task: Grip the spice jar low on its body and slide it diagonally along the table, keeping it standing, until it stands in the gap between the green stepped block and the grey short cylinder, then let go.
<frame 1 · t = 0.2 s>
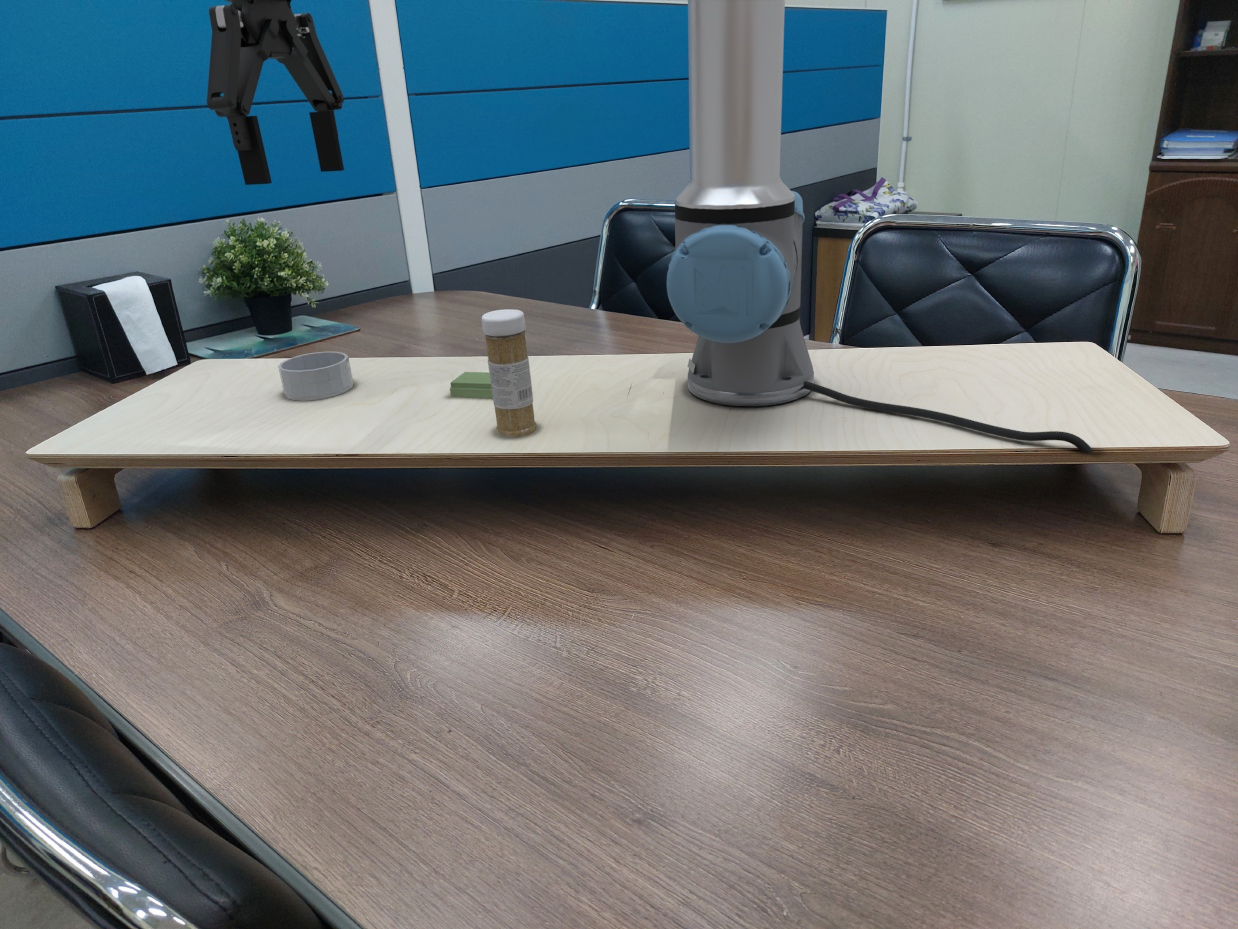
hand: (298, 177, 93), 28 cm above the table, tool pointing down, fingers open, 13 cm apart
grey short cylinder: (319, 389, 112), on the table
green stepped block: (487, 391, 107), on the table
spice jar: (516, 432, 94), on the table
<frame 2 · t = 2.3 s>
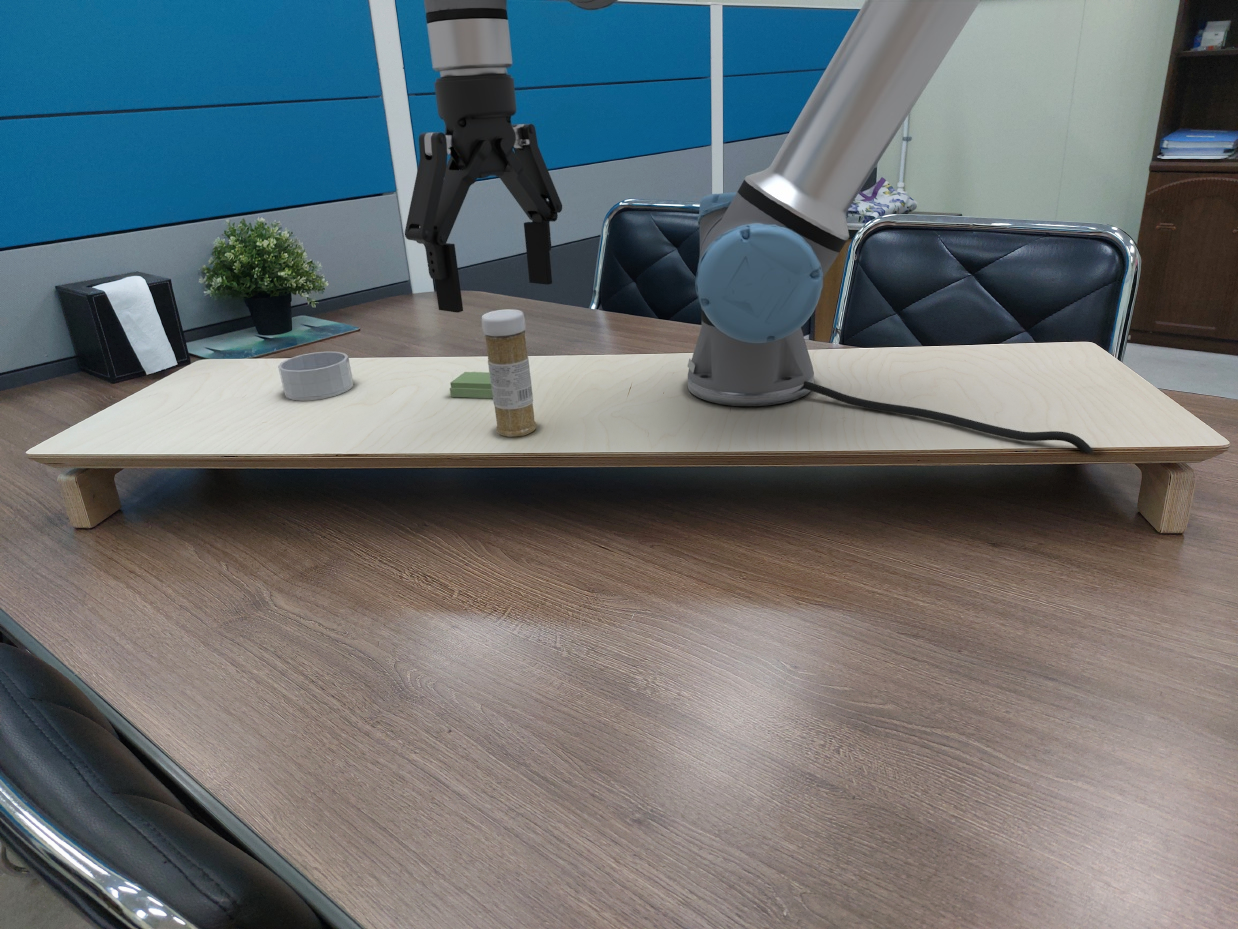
hand: (498, 296, 88), 15 cm above the table, tool pointing down, fingers open, 13 cm apart
nothing on the table moved.
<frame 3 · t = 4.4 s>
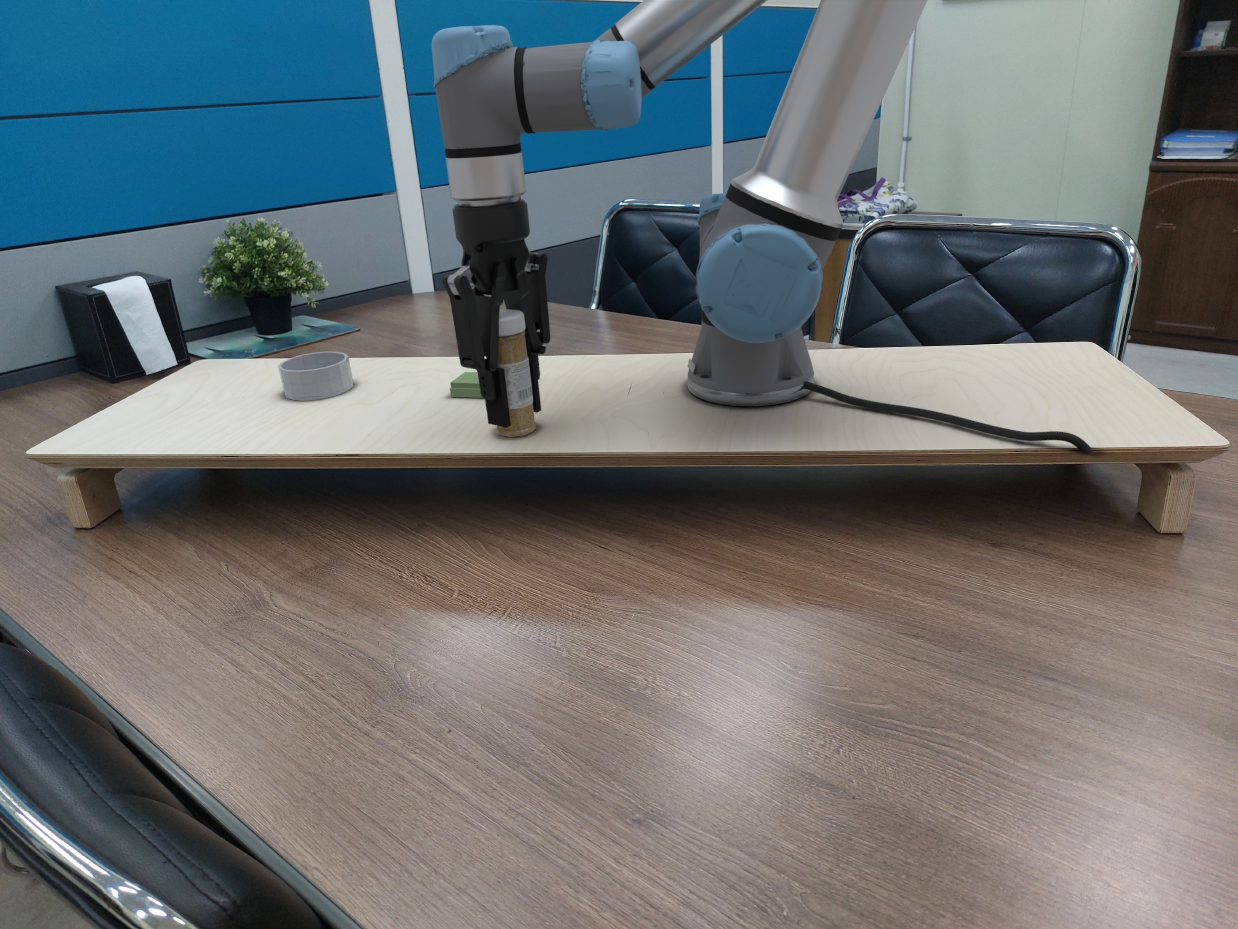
hand: (515, 416, 93), 2 cm above the table, tool pointing down, fingers closed on spice jar, 4 cm apart
spice jar: (516, 432, 94), on the table, touching gripper
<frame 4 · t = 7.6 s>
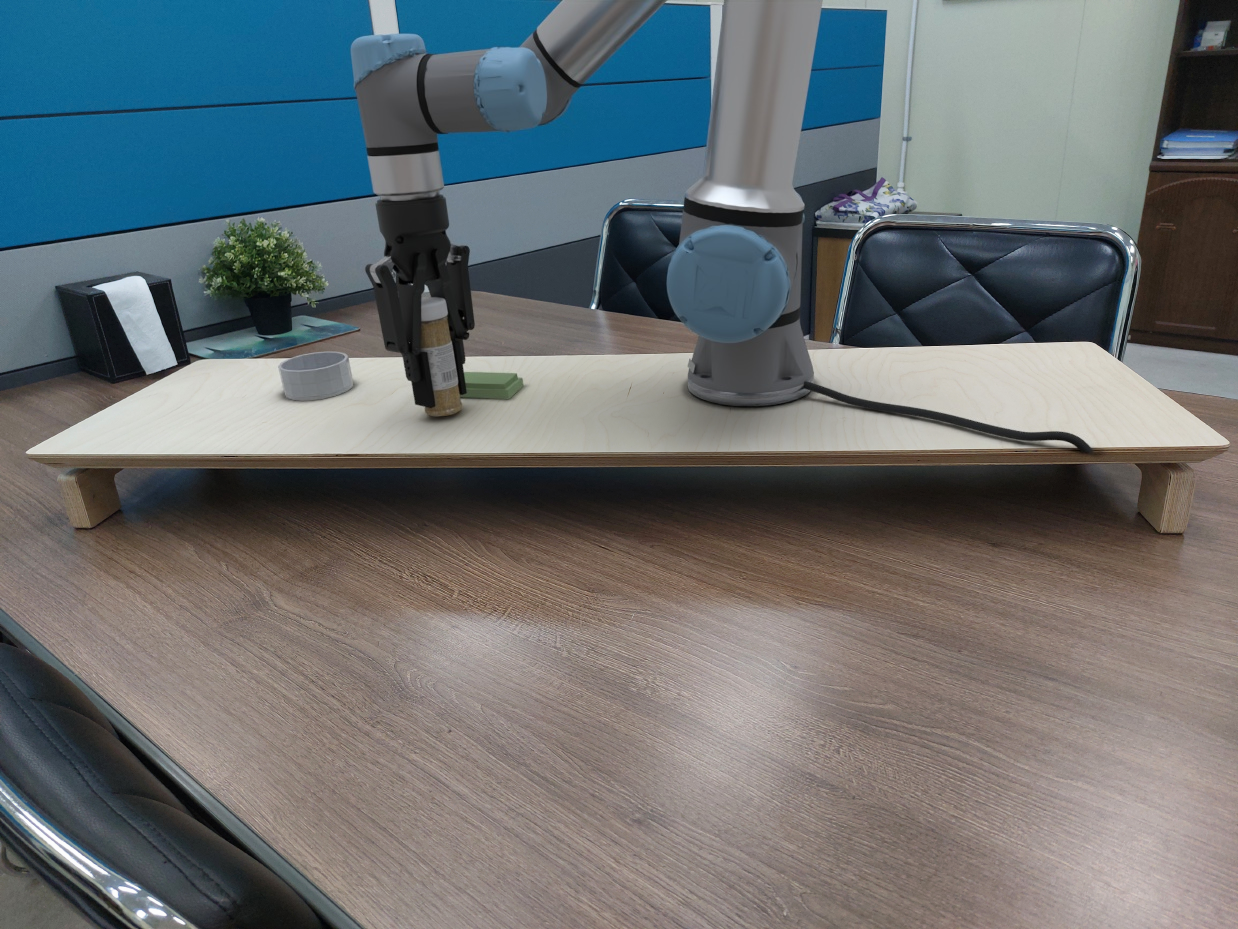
hand: (441, 398, 100), 2 cm above the table, tool pointing down, fingers closed on spice jar, 4 cm apart
spice jar: (444, 412, 100), on the table, touching gripper
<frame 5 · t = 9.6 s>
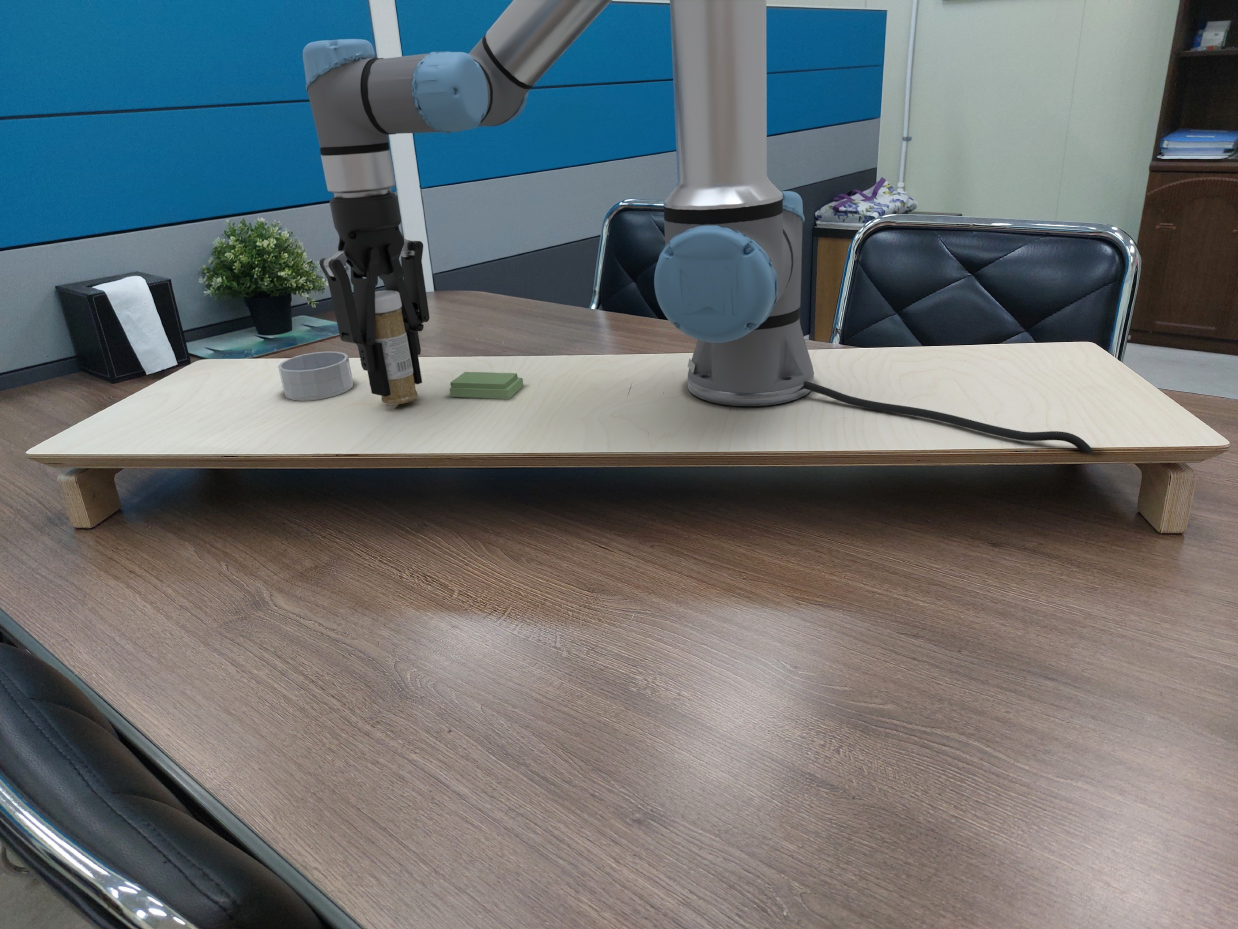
hand: (397, 387, 104), 2 cm above the table, tool pointing down, fingers closed on spice jar, 4 cm apart
spice jar: (400, 401, 105), on the table, touching gripper
when the fingers open (2 cm above the table, at t = 11.2 s): spice jar stays where it is, on the table.
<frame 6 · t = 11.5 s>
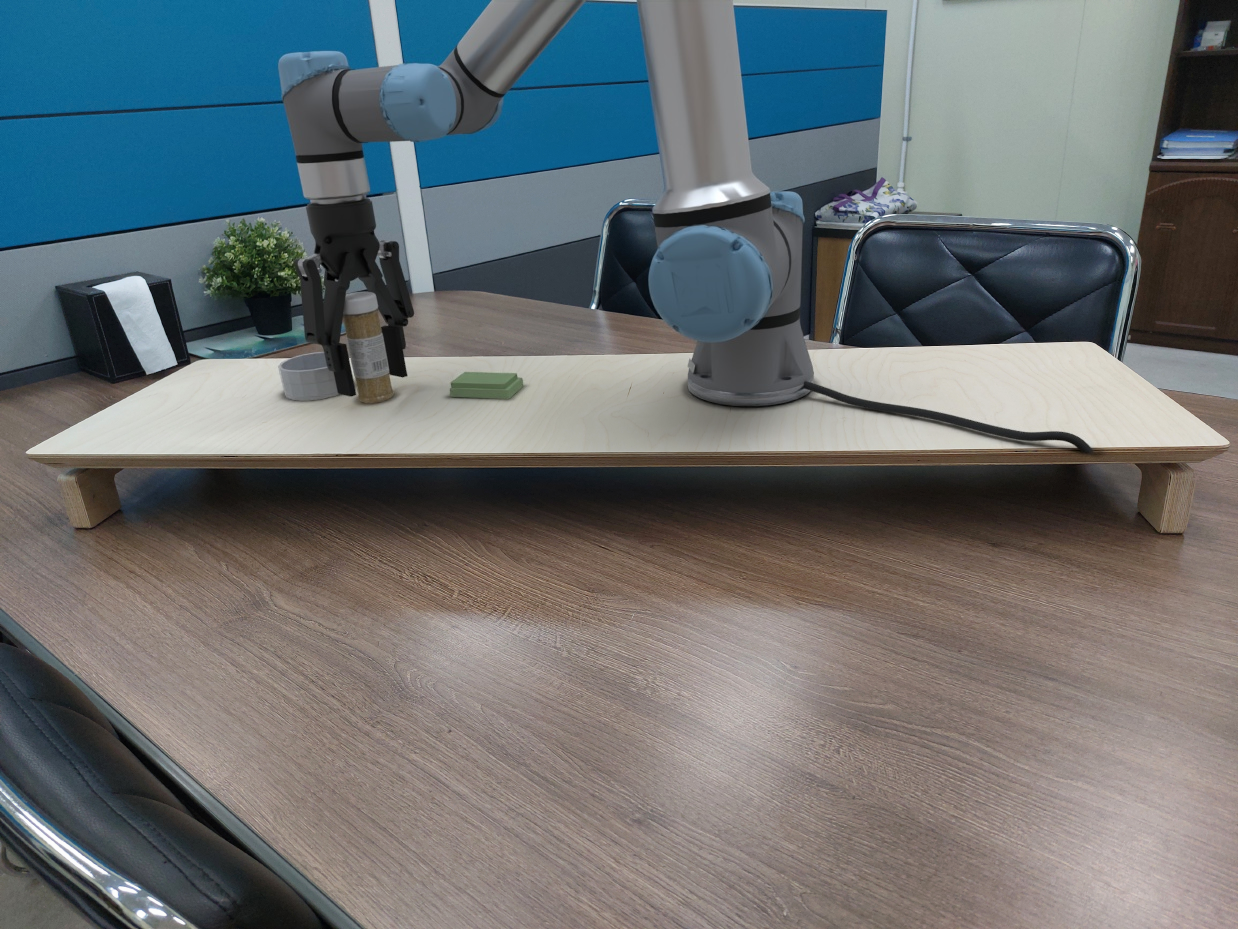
hand: (373, 384, 107), 2 cm above the table, tool pointing down, fingers open, 7 cm apart
spice jar: (376, 399, 108), on the table
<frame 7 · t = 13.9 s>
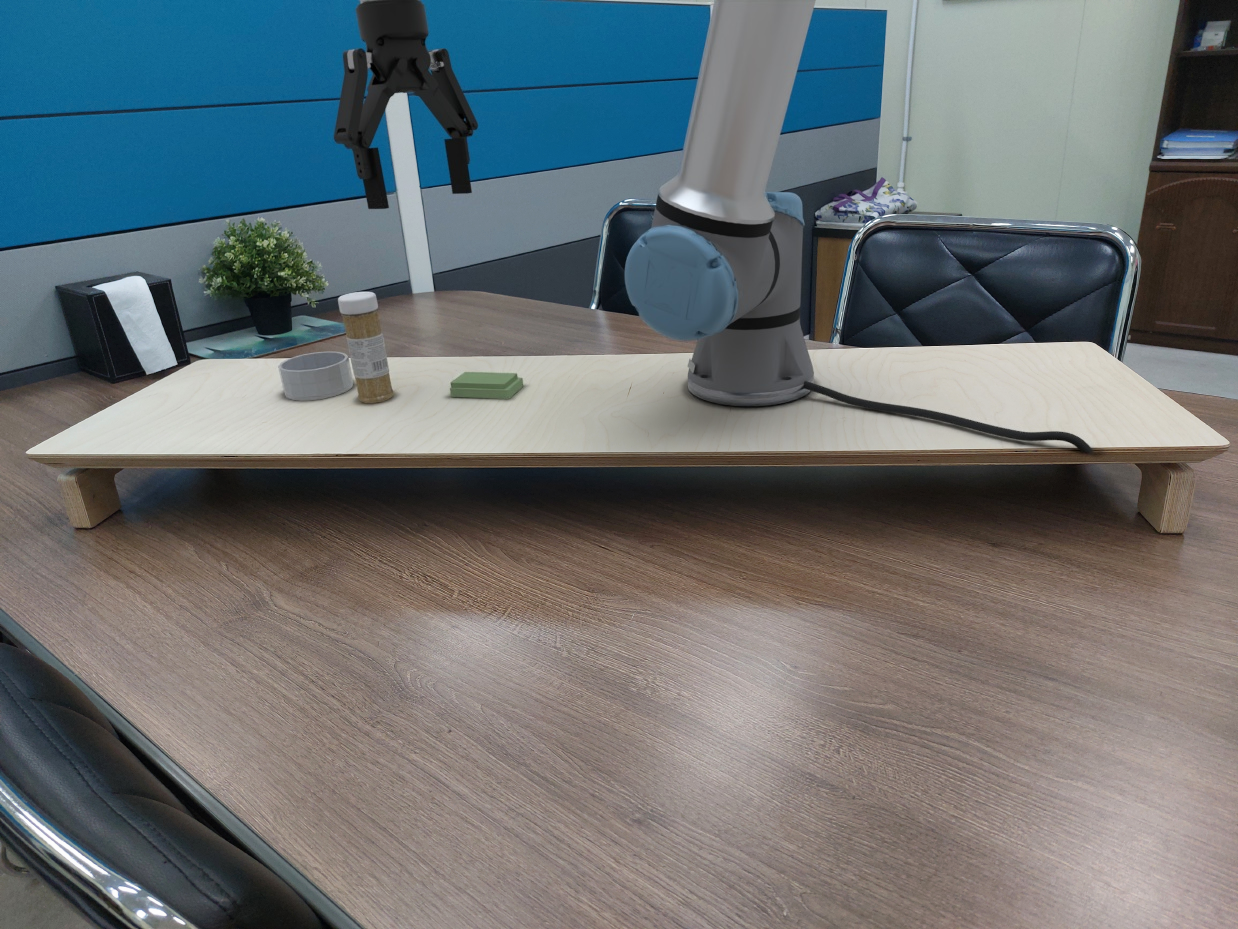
hand: (422, 200, 101), 24 cm above the table, tool pointing down, fingers open, 13 cm apart
nothing on the table moved.
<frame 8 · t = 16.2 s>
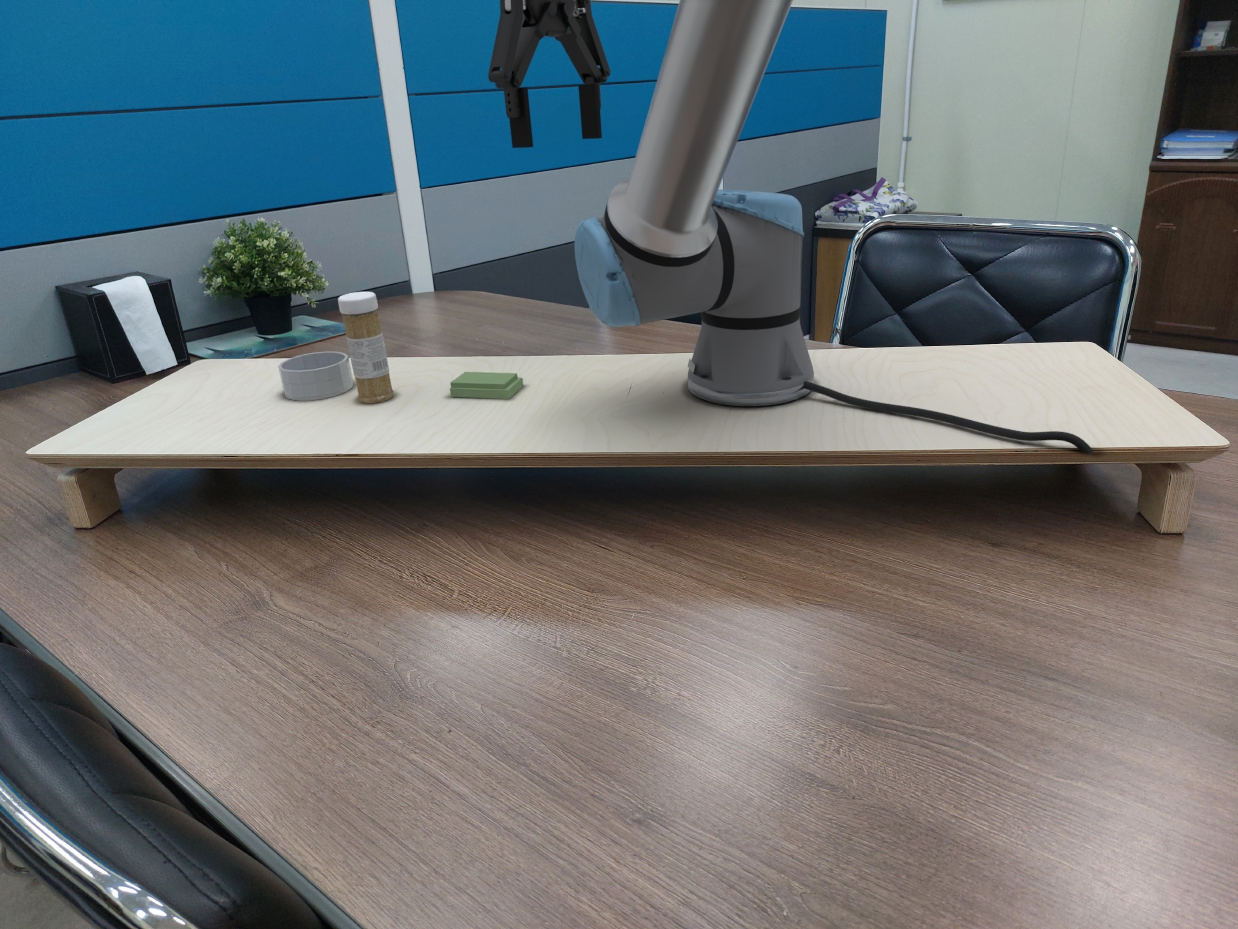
hand: (559, 143, 105), 29 cm above the table, tool pointing down, fingers open, 13 cm apart
nothing on the table moved.
at the end: spice jar inside the target area on the table beside the grey short cylinder (0.1 cm from its centre), on the table; spice jar tilted 0° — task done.
